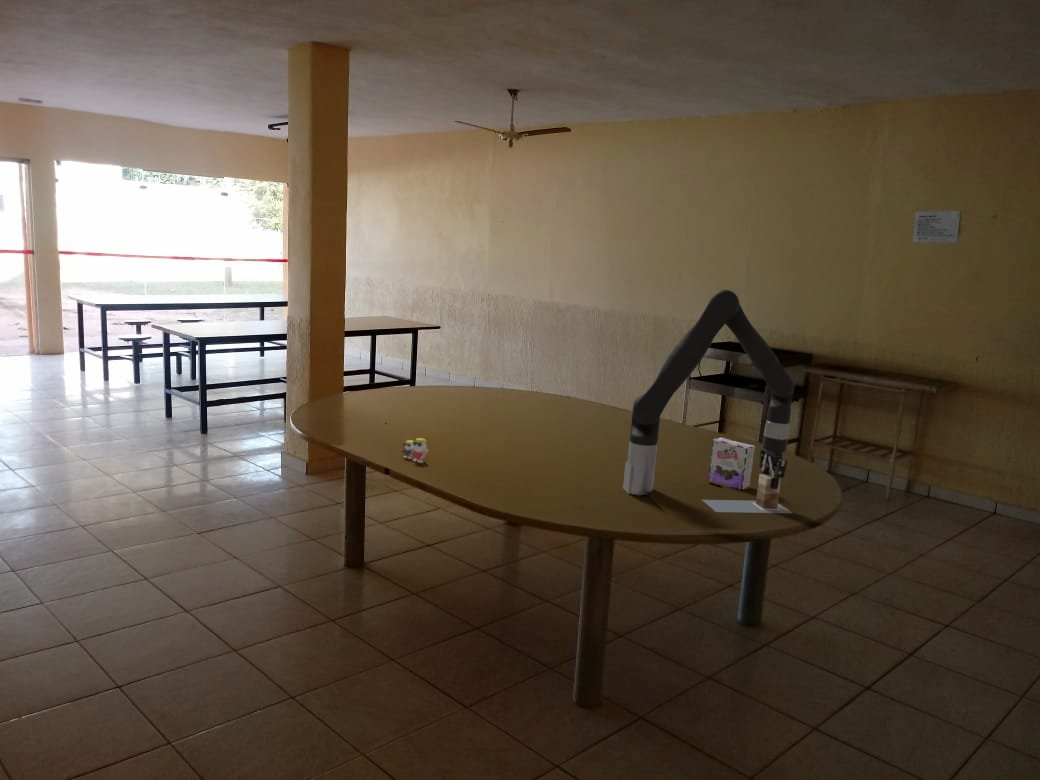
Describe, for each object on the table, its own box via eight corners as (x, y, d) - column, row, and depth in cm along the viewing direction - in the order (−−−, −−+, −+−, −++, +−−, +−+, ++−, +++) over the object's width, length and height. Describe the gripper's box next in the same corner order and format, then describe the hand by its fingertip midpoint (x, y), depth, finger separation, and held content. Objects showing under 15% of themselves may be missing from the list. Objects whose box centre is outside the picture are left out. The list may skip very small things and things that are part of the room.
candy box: (706, 483, 284) (712, 438, 281) (715, 480, 288) (721, 436, 285) (741, 493, 274) (747, 447, 271) (749, 490, 278) (755, 445, 276)
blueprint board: (715, 515, 248) (716, 511, 248) (701, 503, 260) (701, 499, 259) (792, 516, 253) (792, 512, 252) (774, 504, 264) (775, 500, 264)
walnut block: (762, 508, 254) (764, 493, 254) (755, 503, 259) (757, 488, 258) (777, 508, 255) (779, 493, 254) (769, 503, 260) (771, 489, 259)
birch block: (764, 493, 254) (766, 478, 253) (757, 488, 258) (759, 474, 258) (779, 493, 254) (781, 478, 254) (771, 489, 259) (773, 474, 258)
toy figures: (400, 456, 289) (401, 434, 288) (409, 454, 293) (410, 432, 291) (420, 464, 281) (422, 441, 280) (430, 462, 285) (431, 439, 283)
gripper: (755, 429, 259) (748, 479, 262) (775, 440, 245) (769, 492, 248) (776, 430, 261) (769, 479, 264) (798, 441, 247) (791, 493, 250)
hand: (769, 485), depth 256 cm, fingers open, 5 cm apart
